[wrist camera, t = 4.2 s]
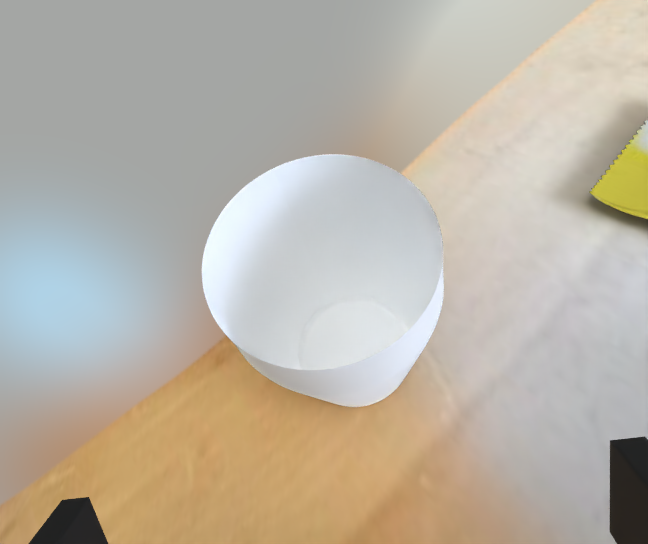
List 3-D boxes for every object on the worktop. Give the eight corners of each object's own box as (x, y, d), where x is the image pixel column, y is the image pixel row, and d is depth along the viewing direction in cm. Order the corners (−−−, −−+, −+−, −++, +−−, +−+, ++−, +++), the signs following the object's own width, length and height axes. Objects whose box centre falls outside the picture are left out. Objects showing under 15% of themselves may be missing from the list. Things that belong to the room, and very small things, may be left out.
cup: (317, 460, 25) (246, 428, 14) (257, 320, 29) (169, 214, 18) (465, 382, 25) (505, 293, 15) (385, 256, 29) (371, 117, 19)
